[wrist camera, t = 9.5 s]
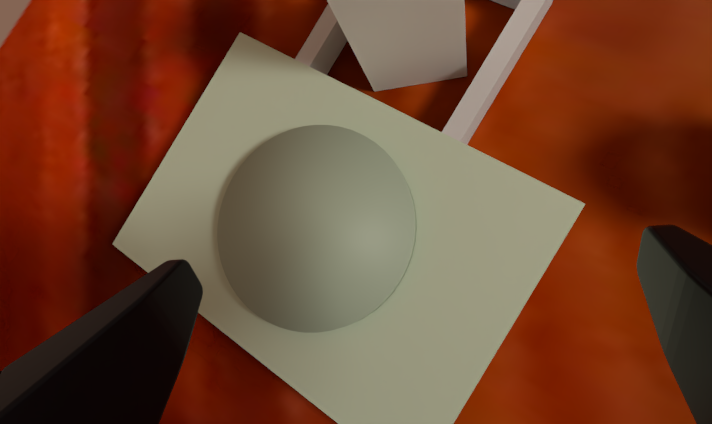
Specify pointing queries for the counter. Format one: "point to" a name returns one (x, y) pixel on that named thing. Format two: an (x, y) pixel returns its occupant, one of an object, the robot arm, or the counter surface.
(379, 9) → the grey tall block
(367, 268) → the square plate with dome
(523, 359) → the counter surface
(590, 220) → the counter surface
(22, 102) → the counter surface
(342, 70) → the counter surface
